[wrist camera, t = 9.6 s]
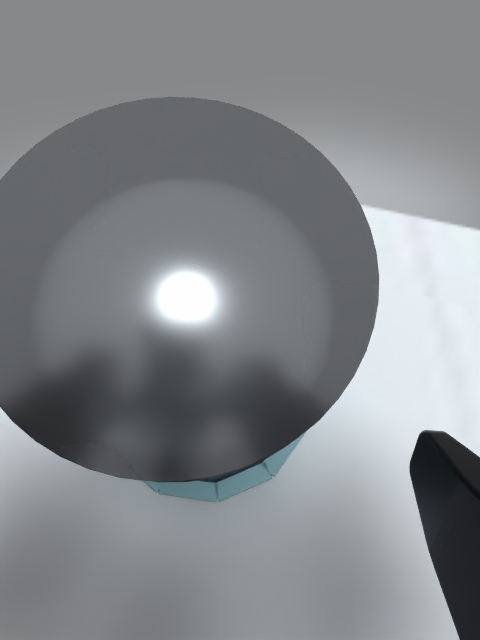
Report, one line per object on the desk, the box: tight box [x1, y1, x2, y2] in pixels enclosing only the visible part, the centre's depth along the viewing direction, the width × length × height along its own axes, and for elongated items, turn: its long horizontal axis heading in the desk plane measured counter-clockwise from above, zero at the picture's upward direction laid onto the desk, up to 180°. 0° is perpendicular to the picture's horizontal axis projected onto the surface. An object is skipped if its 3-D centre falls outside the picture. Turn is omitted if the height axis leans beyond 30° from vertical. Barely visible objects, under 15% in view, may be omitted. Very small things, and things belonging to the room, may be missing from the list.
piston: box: [0, 97, 379, 482], centre depth 12 cm, size 5×5×13 cm
